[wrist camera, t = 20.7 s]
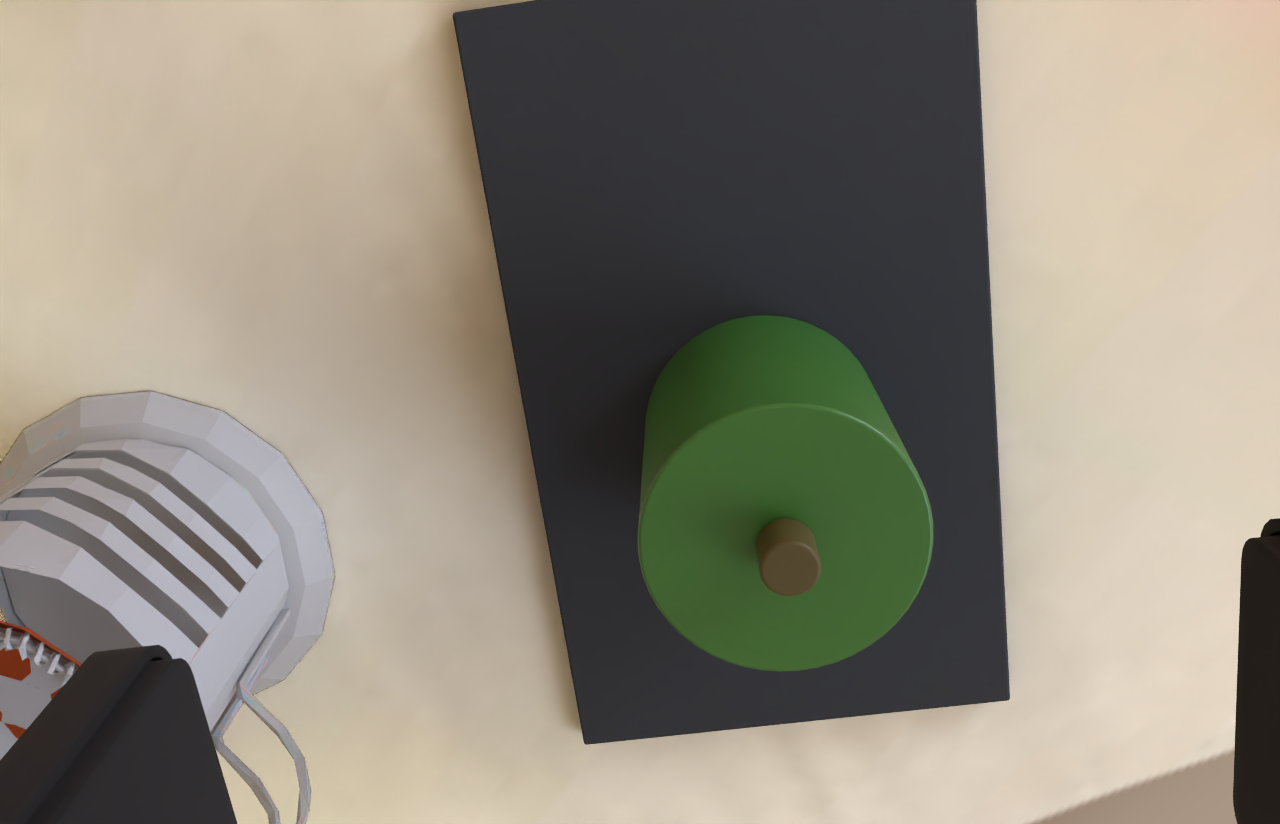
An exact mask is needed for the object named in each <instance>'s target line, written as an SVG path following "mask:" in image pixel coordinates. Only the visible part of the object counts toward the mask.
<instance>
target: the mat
mask: <svg viewBox="0 0 1280 824" xmlns="http://www.w3.org/2000/svg"><path fill="white" fill-rule="evenodd" d="M453 20H454V26H455V31H456V37H457V42H458V48H459V53H460V59H461V64H462V70H463V76H464V81H465V87H466V92H467V98H468V103H469V109H470V114H471V120H472V125H473V131H474V136H475V142H476V147H477V153H478V159H479V164H480V170H481V175H482V181H483V186H484V192H485V197H486V203H487V208H488V214H489V219H490V225H491V231H492V236H493V242H494V247H495V253H496V258H497V264H498V269H499V275H500V280H501V286H502V291H503V297H504V303H505V308H506V314H507V319H508V325H509V330H510V336H511V341H512V347H513V352H514V358H515V363H516V369H517V374H518V380H519V386H520V391H521V397H522V402H523V408H524V413H525V419H526V424H527V430H528V435H529V441H530V446H531V452H532V458H533V463H534V469H535V474H536V480H537V485H538V491H539V496H540V502H541V507H542V513H543V518H544V524H545V529H546V535H547V541H548V546H549V552H550V557H551V563H552V568H553V574H554V579H555V585H556V590H557V596H558V601H559V607H560V613H561V618H562V624H563V629H564V635H565V640H566V646H567V651H568V657H569V662H570V668H571V673H572V679H573V685H574V690H575V696H576V701H577V707H578V712H579V718H580V723H581V729H582V734H583V740H584V743H585V744H596V743H606V742H615V741H625V740H634V739H644V738H653V737H663V736H673V735H682V734H692V733H701V732H711V731H720V730H730V729H739V728H749V727H758V726H768V725H777V724H787V723H796V722H806V721H815V720H825V719H834V718H844V717H853V716H863V715H873V714H882V713H892V712H901V711H911V710H920V709H930V708H939V707H949V706H958V705H968V704H977V703H987V702H996V701H1006V700H1009V698H1010V691H1009V670H1008V650H1007V629H1006V608H1005V587H1004V567H1003V546H1002V525H1001V504H1000V483H999V463H998V442H997V421H996V400H995V379H994V359H993V338H992V317H991V296H990V275H989V255H988V234H987V213H986V192H985V171H984V151H983V130H982V109H981V88H980V67H979V47H978V26H977V5H976V0H535V1H529V2H522V3H515V4H508V5H502V6H495V7H488V8H482V9H475V10H468V11H462V12H455V13H454V14H453ZM761 315H769V316H782V317H787V318H792V319H797V320H800V321H803V322H806V323H809V324H812V325H814V326H816V327H818V328H820V329H822V330H824V331H826V332H827V333H829V334H830V335H832V336H833V337H835V338H836V339H838V340H839V341H840V342H841V343H842V344H843V345H844V346H846V347H847V348H848V349H849V350H850V351H851V352H852V354H853V355H854V356H855V357H856V358H857V359H858V361H859V362H860V364H861V365H862V367H863V368H864V370H865V371H866V373H867V375H868V377H869V379H870V381H871V383H872V385H873V387H874V388H875V390H876V392H877V394H878V396H879V398H880V400H881V402H882V404H883V406H884V408H885V410H886V412H887V414H888V416H889V418H890V420H891V422H892V424H893V426H894V427H895V429H896V431H897V433H898V435H899V437H900V439H901V441H902V443H903V445H904V447H905V449H906V451H907V453H908V455H909V457H910V459H911V461H912V463H913V465H914V466H915V468H916V470H917V472H918V474H919V476H920V479H921V481H922V483H923V485H924V487H925V489H926V493H927V496H928V499H929V503H930V506H931V512H932V519H933V547H932V554H931V560H930V564H929V567H928V570H927V574H926V577H925V579H924V581H923V584H922V586H921V588H920V590H919V592H918V594H917V596H916V597H915V599H914V601H913V602H912V604H911V605H910V607H909V609H908V610H907V611H906V612H905V614H904V615H903V616H902V617H901V618H900V620H899V621H898V622H897V623H896V624H895V625H894V626H893V627H892V628H891V629H890V630H889V631H888V632H887V633H885V634H884V635H883V636H882V637H881V638H879V639H878V640H877V641H875V642H874V643H872V644H871V645H870V646H868V647H866V648H865V649H863V650H861V651H859V652H858V653H856V654H854V655H852V656H850V657H847V658H845V659H842V660H840V661H838V662H835V663H832V664H828V665H825V666H821V667H818V668H812V669H806V670H800V671H765V670H758V669H752V668H747V667H743V666H739V665H736V664H733V663H730V662H726V661H724V660H722V659H720V658H717V657H715V656H713V655H711V654H709V653H707V652H706V651H704V650H702V649H701V648H699V647H697V646H696V645H694V644H693V643H692V642H690V641H689V640H688V639H687V638H685V637H684V636H683V635H681V634H680V633H679V632H678V631H677V630H676V629H675V628H674V627H673V626H672V625H671V624H670V623H669V622H668V620H667V619H666V618H665V616H664V615H663V614H662V612H661V611H660V610H659V608H658V607H657V605H656V603H655V602H654V600H653V598H652V596H651V594H650V593H649V590H648V588H647V585H646V583H645V580H644V577H643V574H642V570H641V565H640V561H639V553H638V526H639V511H640V496H641V481H642V466H643V451H644V436H645V421H646V412H647V407H648V402H649V398H650V395H651V392H652V390H653V387H654V385H655V383H656V381H657V379H658V377H659V375H660V373H661V372H662V370H663V369H664V367H665V366H666V364H667V363H668V361H669V360H670V359H671V358H672V357H673V356H674V355H675V354H676V352H677V351H678V350H679V349H680V348H682V347H683V346H684V345H685V344H686V343H687V342H689V341H690V340H691V339H693V338H694V337H696V336H697V335H699V334H700V333H702V332H703V331H705V330H707V329H709V328H712V327H714V326H716V325H718V324H721V323H724V322H727V321H730V320H733V319H737V318H743V317H748V316H761Z"/></svg>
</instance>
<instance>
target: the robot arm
mask: <svg viewBox="0 0 1280 824" xmlns="http://www.w3.org/2000/svg"><path fill="white" fill-rule="evenodd" d="M1233 803H1234V811H1235V816H1236V820H1237V823H1238V824H1280V518H1279V519H1270V520H1269V521H1268V522H1267V523H1266V524H1265V525H1264V528H1263V530H1262V533H1261V537H1259V538H1250V539H1248V540H1247V541H1246V542H1245V545H1244V547H1243V551H1242V559H1241V587H1240V616H1239V644H1238V673H1237V701H1236V730H1235V759H1234V787H1233ZM0 824H237V821H236V818H235V814H234V811H233V808H232V804H231V801H230V797H229V794H228V791H227V787H226V784H225V780H224V777H223V773H222V770H221V767H220V763H219V760H218V756H217V753H216V750H215V746H214V743H213V739H212V736H211V733H210V729H209V726H208V722H207V719H206V716H205V712H204V709H203V705H202V702H201V699H200V695H199V692H198V688H197V685H196V681H195V678H194V675H193V672H192V670H191V667H190V666H189V664H188V663H187V661H186V660H184V659H182V658H176V659H172V656H171V655H170V654H169V652H168V651H167V650H166V648H164V647H162V646H160V645H151V646H142V647H133V648H124V649H115V650H106V651H98V652H94V653H93V654H91V655H90V656H89V657H88V658H87V659H86V660H85V661H84V662H83V663H82V665H81V666H80V667H79V668H78V669H77V671H76V672H75V673H74V674H73V675H72V676H71V678H70V679H69V680H68V681H67V682H66V683H65V685H64V686H63V687H62V688H61V689H60V691H59V692H58V693H57V694H56V695H55V696H54V698H53V699H52V700H51V701H50V702H49V704H48V705H47V706H46V707H45V708H44V709H43V711H42V712H41V713H40V714H39V715H38V716H37V718H36V719H35V720H34V721H33V722H32V724H31V725H30V726H29V727H28V728H27V729H26V731H25V732H24V733H23V734H22V735H21V736H20V738H19V739H18V740H17V741H16V742H15V744H14V745H13V746H12V747H11V748H10V749H9V751H8V752H7V753H6V754H5V755H4V757H3V758H2V759H1V760H0Z"/></svg>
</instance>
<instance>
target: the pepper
mask: <svg viewBox="0 0 1280 824" xmlns="http://www.w3.org/2000/svg"><path fill="white" fill-rule="evenodd" d="M932 547H933V519H932V512H931V506H930V503H929V499H928V496H927V493H926V489H925V487H924V485H923V483H922V481H921V479H920V476H919V474H918V472H917V470H916V468H915V466H914V465H913V463H912V461H911V459H910V457H909V455H908V453H907V451H906V449H905V447H904V445H903V443H902V441H901V439H900V437H899V435H898V433H897V431H896V429H895V427H894V426H893V424H892V422H891V420H890V418H889V416H888V414H887V412H886V410H885V408H884V406H883V404H882V402H881V400H880V398H879V396H878V394H877V392H876V390H875V388H874V387H873V385H872V383H871V381H870V379H869V377H868V375H867V373H866V371H865V370H864V368H863V367H862V365H861V364H860V362H859V361H858V359H857V358H856V357H855V356H854V355H853V354H852V352H851V351H850V350H849V349H848V348H847V347H846V346H844V345H843V344H842V343H841V342H840V341H839V340H838V339H836V338H835V337H833V336H832V335H830V334H829V333H827V332H826V331H824V330H822V329H820V328H818V327H816V326H814V325H812V324H809V323H806V322H803V321H800V320H797V319H792V318H787V317H782V316H769V315H761V316H748V317H743V318H737V319H733V320H730V321H727V322H724V323H721V324H718V325H716V326H714V327H712V328H709V329H707V330H705V331H703V332H702V333H700V334H699V335H697V336H696V337H694V338H693V339H691V340H690V341H689V342H687V343H686V344H685V345H684V346H683V347H682V348H680V349H679V350H678V351H677V352H676V354H675V355H674V356H673V357H672V358H671V359H670V360H669V361H668V363H667V364H666V366H665V367H664V369H663V370H662V372H661V373H660V375H659V377H658V379H657V381H656V383H655V385H654V387H653V390H652V392H651V395H650V398H649V402H648V407H647V412H646V421H645V436H644V451H643V466H642V481H641V496H640V511H639V526H638V553H639V561H640V565H641V570H642V574H643V577H644V580H645V583H646V585H647V588H648V590H649V593H650V594H651V596H652V598H653V600H654V602H655V603H656V605H657V607H658V608H659V610H660V611H661V612H662V614H663V615H664V616H665V618H666V619H667V620H668V622H669V623H670V624H671V625H672V626H673V627H674V628H675V629H676V630H677V631H678V632H679V633H680V634H681V635H683V636H684V637H685V638H687V639H688V640H689V641H690V642H692V643H693V644H694V645H696V646H697V647H699V648H701V649H702V650H704V651H706V652H707V653H709V654H711V655H713V656H715V657H717V658H720V659H722V660H724V661H726V662H730V663H733V664H736V665H739V666H743V667H747V668H752V669H758V670H765V671H800V670H806V669H812V668H818V667H821V666H825V665H828V664H832V663H835V662H838V661H840V660H842V659H845V658H847V657H850V656H852V655H854V654H856V653H858V652H859V651H861V650H863V649H865V648H866V647H868V646H870V645H871V644H872V643H874V642H875V641H877V640H878V639H879V638H881V637H882V636H883V635H884V634H885V633H887V632H888V631H889V630H890V629H891V628H892V627H893V626H894V625H895V624H896V623H897V622H898V621H899V620H900V618H901V617H902V616H903V615H904V614H905V612H906V611H907V610H908V609H909V607H910V605H911V604H912V602H913V601H914V599H915V597H916V596H917V594H918V592H919V590H920V588H921V586H922V584H923V581H924V579H925V577H926V574H927V570H928V567H929V564H930V560H931V554H932Z"/></svg>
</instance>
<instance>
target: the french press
mask: <svg viewBox="0 0 1280 824" xmlns="http://www.w3.org/2000/svg"><path fill="white" fill-rule="evenodd" d="M334 579H335V572H334V567H333V563H332V558H331V553H330V548H329V543H328V538H327V533H326V529H325V524H324V519H323V514H322V511H321V510H320V508H319V507H318V506H317V504H316V503H315V501H314V500H313V498H312V497H311V495H310V494H309V492H308V491H307V489H306V488H305V486H304V485H303V483H302V482H301V480H300V479H299V477H298V476H297V474H296V473H295V471H294V470H293V468H292V467H291V466H290V464H289V463H288V461H287V460H286V458H285V457H284V455H283V454H282V453H280V452H279V451H278V450H276V449H275V448H273V447H272V446H271V445H269V444H268V443H266V442H265V441H264V440H262V439H261V438H259V437H258V436H257V435H255V434H254V433H253V432H251V431H250V430H248V429H247V428H246V427H244V426H243V425H241V424H240V423H239V422H237V421H236V420H234V419H233V418H232V417H230V416H229V415H227V414H226V413H225V412H223V411H220V410H217V409H213V408H210V407H206V406H203V405H199V404H196V403H192V402H188V401H185V400H181V399H178V398H174V397H171V396H167V395H164V394H160V393H157V392H153V391H146V392H136V393H125V394H114V395H104V396H93V397H83V398H79V399H78V400H76V401H74V402H72V403H71V404H69V405H67V406H65V407H63V408H62V409H60V410H58V411H56V412H54V413H53V414H51V415H49V416H47V417H46V418H44V419H42V420H40V421H38V422H37V423H35V424H33V425H31V426H29V427H28V428H26V429H24V430H23V432H22V433H21V435H20V436H19V437H18V439H17V440H16V442H15V443H14V445H13V446H12V448H11V449H10V451H9V452H8V454H7V455H6V457H5V458H4V460H3V461H2V463H1V464H0V609H1V611H2V613H3V615H4V617H5V620H6V622H3V621H0V760H1V759H2V758H3V757H4V755H5V754H6V753H7V752H8V751H9V749H10V748H11V747H12V746H13V745H14V744H15V742H16V741H17V740H18V739H19V738H20V736H21V735H22V734H23V733H24V732H25V731H26V729H27V728H28V727H29V726H30V725H31V724H32V722H33V721H34V720H35V719H36V718H37V716H38V715H39V714H40V713H41V712H42V711H43V709H44V708H45V707H46V706H47V705H48V704H49V702H50V701H51V700H52V699H53V698H54V696H55V695H56V694H57V693H58V692H59V691H60V689H61V688H62V687H63V686H64V685H65V683H66V682H67V681H68V680H69V679H70V678H71V676H72V675H73V674H74V673H75V672H76V671H77V669H78V668H79V667H80V666H81V665H82V663H83V662H84V661H85V660H86V659H87V658H88V657H89V656H90V655H91V654H93V653H94V652H98V651H106V650H115V649H124V648H133V647H142V646H151V645H160V646H162V647H164V648H166V650H167V651H168V652H169V654H170V655H171V656H172V659H176V658H182V659H184V660H186V661H187V663H188V664H189V666H190V667H191V670H192V672H193V675H194V678H195V681H196V685H197V688H198V692H199V695H200V699H201V702H202V705H203V709H204V712H205V716H206V719H207V722H208V726H209V729H210V733H211V736H212V739H213V743H214V746H215V749H216V750H217V751H218V752H219V753H220V754H221V755H222V756H223V757H224V758H225V760H226V761H227V762H228V763H229V764H230V765H231V766H232V767H233V768H234V770H235V771H236V772H237V773H238V774H239V775H240V776H241V777H242V778H243V779H244V781H245V782H246V783H247V784H248V785H249V786H250V787H251V789H252V791H253V792H254V794H255V795H256V797H257V798H258V800H259V801H260V803H261V804H262V806H263V807H264V809H265V810H266V812H267V814H268V819H269V824H280V816H279V811H278V809H277V807H276V806H275V804H274V802H273V800H272V799H271V797H270V795H269V793H268V792H267V790H266V788H265V787H264V785H263V783H262V781H261V780H260V778H259V777H258V776H256V775H255V774H254V773H253V772H252V771H251V770H250V769H249V768H248V767H247V766H246V765H245V764H244V763H243V762H242V761H241V760H240V759H239V758H238V757H237V756H236V755H235V754H234V753H233V752H232V751H231V750H230V749H229V748H228V747H227V746H226V745H225V744H224V741H223V738H222V737H223V735H224V733H225V732H226V730H227V728H228V727H229V725H230V723H231V722H232V720H233V718H234V717H235V715H236V713H237V712H238V710H239V708H240V707H241V705H242V703H243V702H244V703H245V704H246V705H247V706H248V707H249V708H250V709H251V710H252V711H253V712H254V713H255V714H256V715H257V716H258V717H259V718H260V719H261V720H262V721H263V722H264V723H265V724H266V725H267V726H268V727H269V728H270V729H271V730H272V731H273V732H274V733H275V734H276V735H277V736H278V738H279V739H280V740H281V742H282V743H283V745H284V746H285V748H286V749H287V750H288V752H289V753H290V755H291V756H292V758H293V759H294V760H295V765H296V771H297V776H298V781H299V786H300V793H299V803H298V813H297V822H296V824H306V821H307V818H308V814H309V811H310V800H311V786H310V782H309V777H308V772H307V767H306V762H305V758H304V756H303V754H302V753H301V751H300V750H299V748H298V746H297V745H296V743H295V741H294V740H293V738H292V737H291V735H290V733H289V732H288V730H287V729H286V727H285V726H284V725H283V724H282V723H281V722H280V721H279V720H278V719H277V718H276V717H275V716H274V715H273V714H272V713H271V712H269V711H268V710H267V709H266V708H265V707H264V706H263V705H262V704H261V703H260V702H259V701H258V700H257V699H256V698H255V697H254V696H253V695H254V694H256V693H258V692H260V691H262V690H264V689H266V688H268V687H271V686H273V685H275V684H277V683H279V682H281V681H283V680H284V679H285V678H286V677H287V676H288V674H289V673H290V672H291V671H292V670H293V668H294V667H295V666H296V665H297V663H298V662H299V661H300V660H301V659H302V657H303V656H304V655H305V654H306V652H307V651H308V650H309V649H310V648H311V646H312V645H313V644H314V643H315V641H316V640H317V639H318V638H319V637H320V635H321V634H322V630H323V625H324V621H325V617H326V613H327V608H328V604H329V600H330V596H331V592H332V587H333V583H334Z"/></svg>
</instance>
